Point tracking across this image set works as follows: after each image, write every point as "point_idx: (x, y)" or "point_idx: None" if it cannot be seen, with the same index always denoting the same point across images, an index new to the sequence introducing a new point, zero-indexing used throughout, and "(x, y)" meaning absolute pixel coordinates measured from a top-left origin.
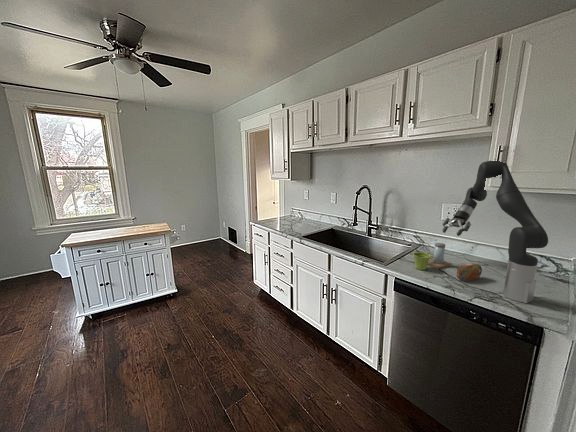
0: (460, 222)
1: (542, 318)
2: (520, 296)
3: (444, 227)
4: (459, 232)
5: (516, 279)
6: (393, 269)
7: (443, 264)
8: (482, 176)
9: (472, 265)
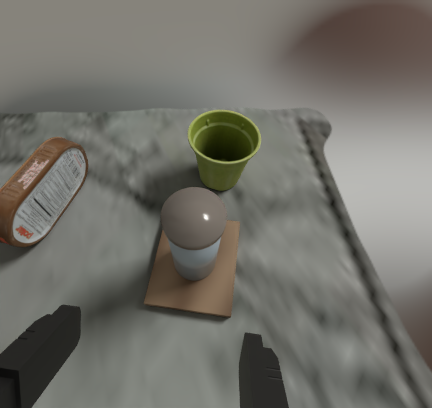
0: None
1: None
2: None
3: (278, 400)
4: (37, 332)
5: None
6: (264, 114)
7: (169, 255)
8: None
9: (18, 178)
